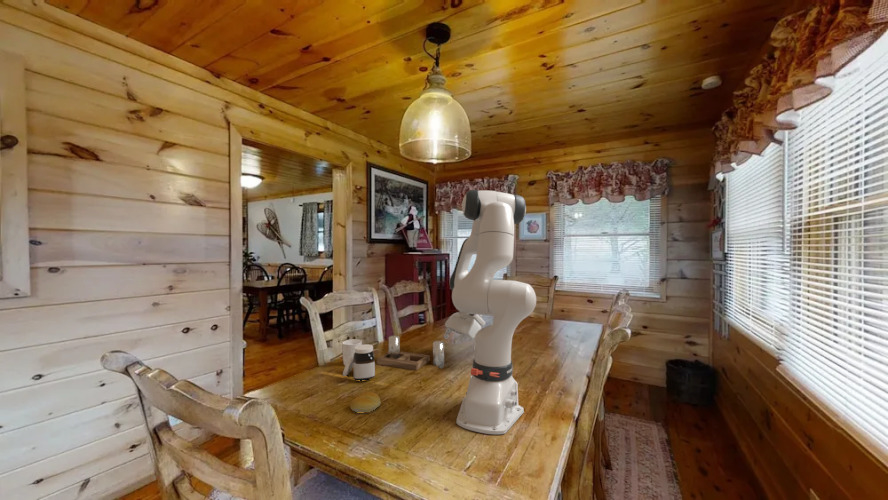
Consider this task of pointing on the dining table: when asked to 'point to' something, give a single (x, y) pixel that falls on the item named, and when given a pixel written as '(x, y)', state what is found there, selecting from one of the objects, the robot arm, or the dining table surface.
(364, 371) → the spread jar
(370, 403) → the bread roll
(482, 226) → the robot arm
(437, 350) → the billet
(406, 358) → the wooden divided tray
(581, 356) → the dining table surface
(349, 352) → the white cup
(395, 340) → the cylinder
